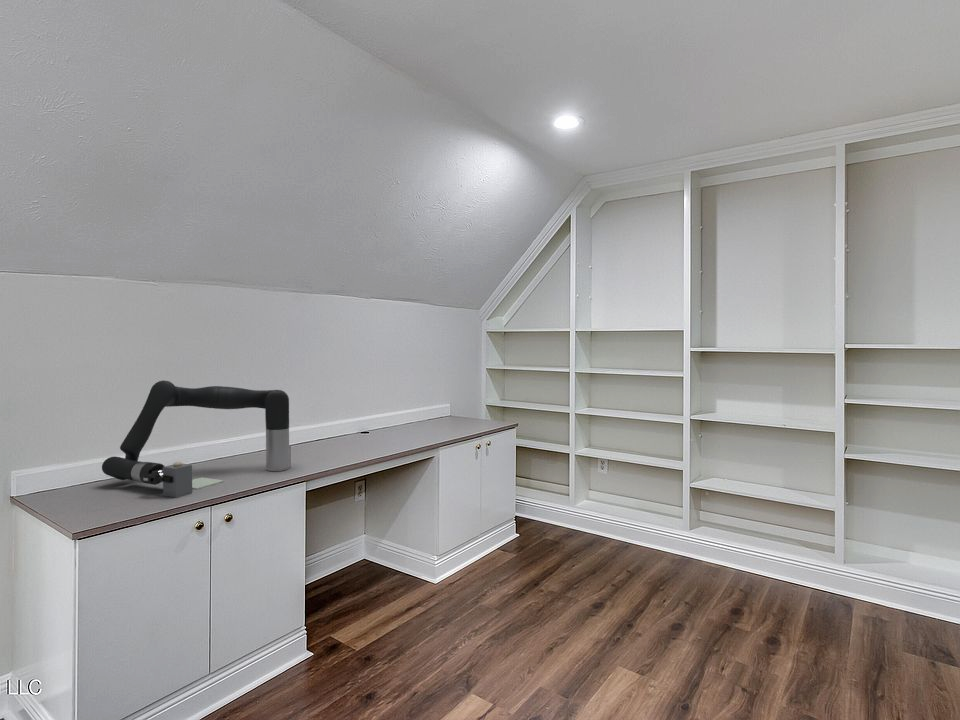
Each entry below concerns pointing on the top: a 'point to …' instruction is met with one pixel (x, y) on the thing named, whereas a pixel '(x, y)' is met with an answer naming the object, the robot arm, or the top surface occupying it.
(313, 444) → the top surface
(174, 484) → the cover
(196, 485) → the mat
